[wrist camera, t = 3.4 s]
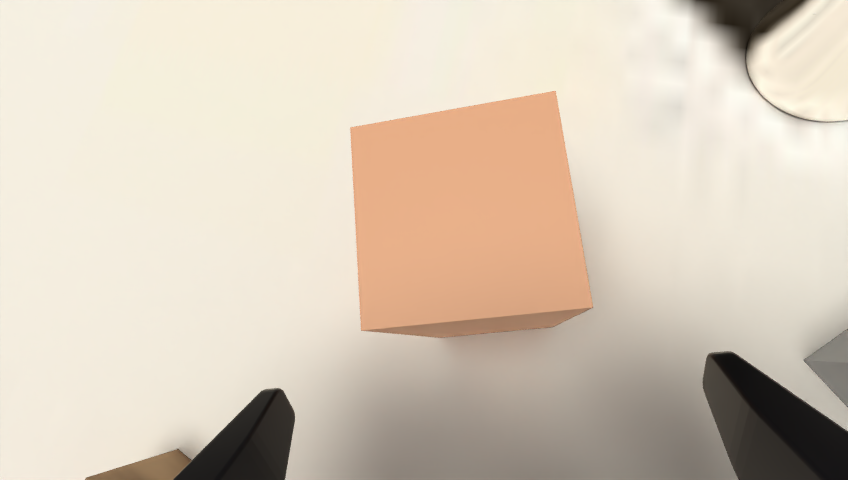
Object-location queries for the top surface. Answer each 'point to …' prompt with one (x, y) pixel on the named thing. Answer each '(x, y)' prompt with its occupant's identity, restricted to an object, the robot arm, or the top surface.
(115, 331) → the top surface
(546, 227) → the terracotta block
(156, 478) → the walnut cube
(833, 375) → the slate cube
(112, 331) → the top surface
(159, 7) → the top surface
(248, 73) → the top surface
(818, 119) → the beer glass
